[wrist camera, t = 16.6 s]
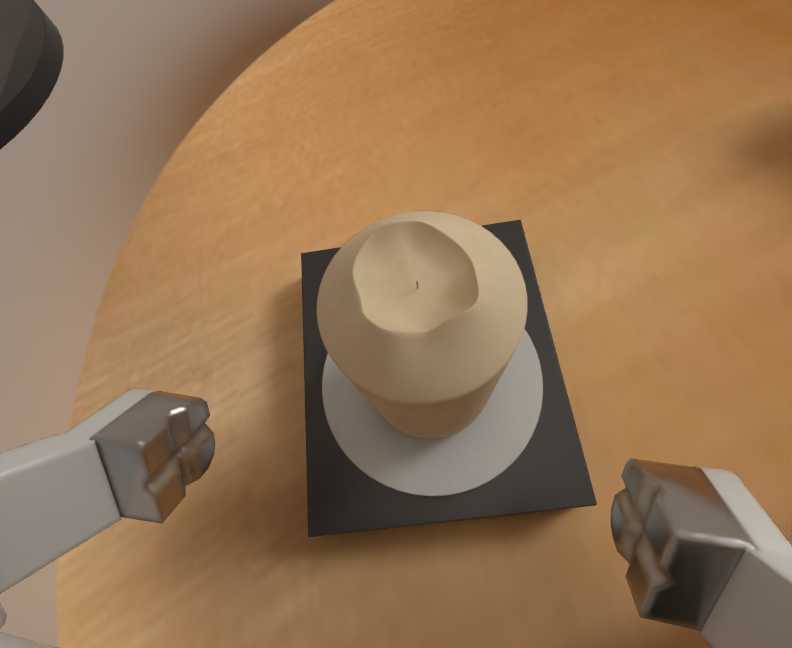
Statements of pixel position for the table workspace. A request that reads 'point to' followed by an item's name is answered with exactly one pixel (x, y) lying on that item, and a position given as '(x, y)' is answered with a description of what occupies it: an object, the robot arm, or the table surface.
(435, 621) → the table surface
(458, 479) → the scale
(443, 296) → the candle
